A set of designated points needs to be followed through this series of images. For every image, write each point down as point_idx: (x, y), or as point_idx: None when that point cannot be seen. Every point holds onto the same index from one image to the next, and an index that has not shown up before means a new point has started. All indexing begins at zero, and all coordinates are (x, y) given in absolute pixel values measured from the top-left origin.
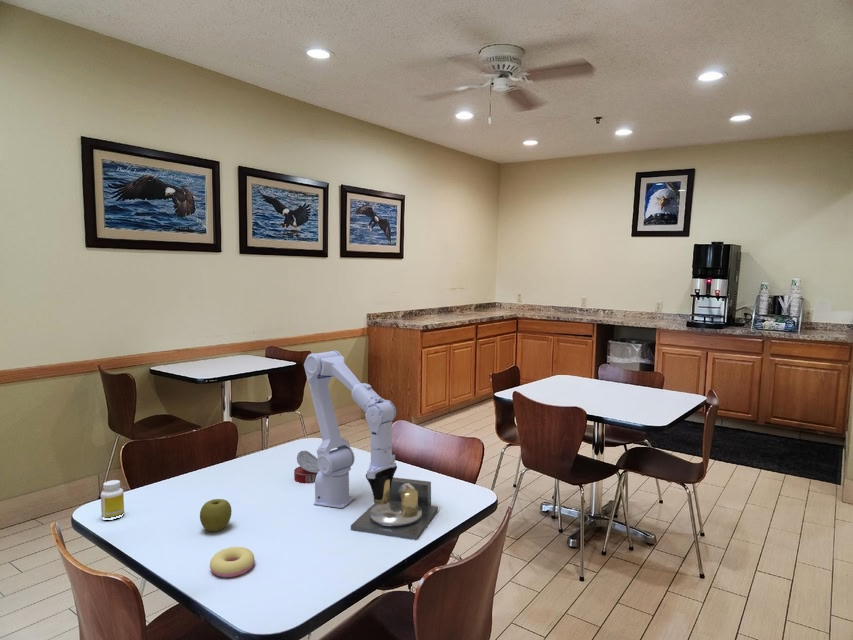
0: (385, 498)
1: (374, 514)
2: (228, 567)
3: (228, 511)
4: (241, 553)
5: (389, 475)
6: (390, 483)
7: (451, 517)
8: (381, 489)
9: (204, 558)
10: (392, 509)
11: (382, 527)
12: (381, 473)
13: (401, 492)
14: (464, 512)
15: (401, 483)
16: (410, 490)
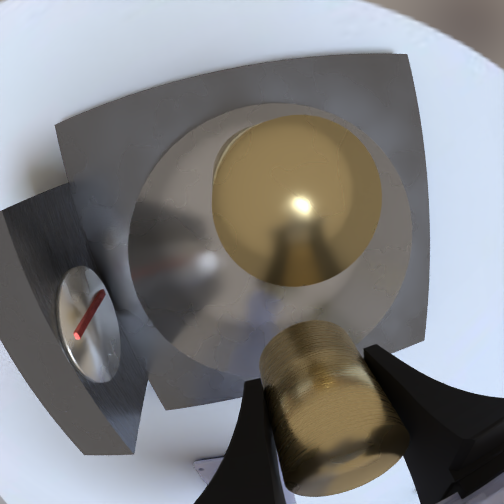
0: (344, 343)
1: (355, 325)
2: None
3: None
4: None
5: (274, 480)
6: (264, 421)
7: (97, 27)
8: (428, 379)
9: None
10: (266, 293)
11: None
12: (456, 481)
13: (353, 260)
14: (28, 23)
15: (93, 391)
16: (269, 212)
